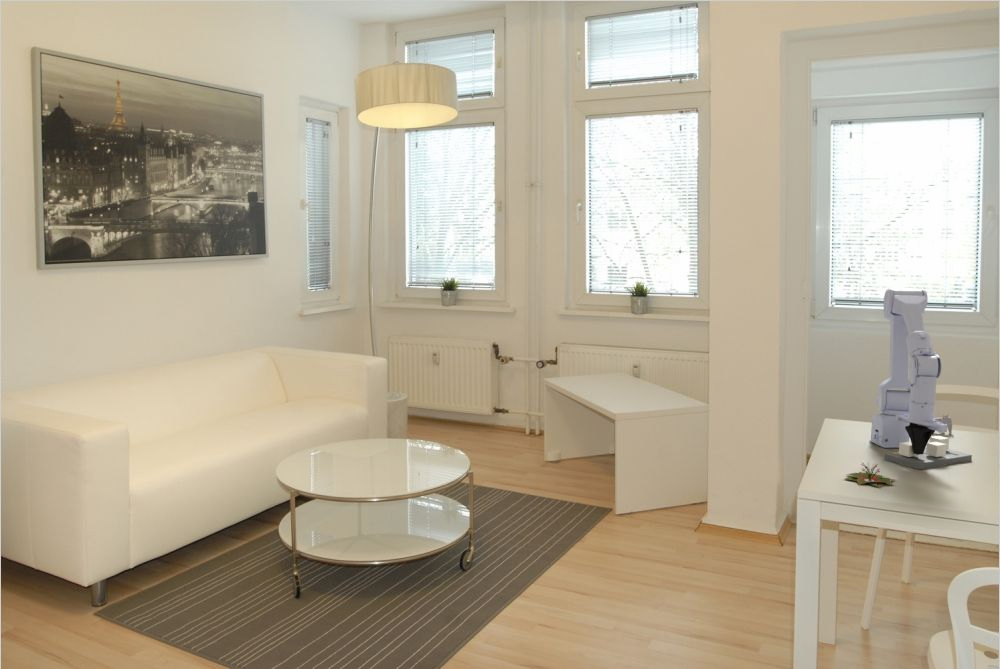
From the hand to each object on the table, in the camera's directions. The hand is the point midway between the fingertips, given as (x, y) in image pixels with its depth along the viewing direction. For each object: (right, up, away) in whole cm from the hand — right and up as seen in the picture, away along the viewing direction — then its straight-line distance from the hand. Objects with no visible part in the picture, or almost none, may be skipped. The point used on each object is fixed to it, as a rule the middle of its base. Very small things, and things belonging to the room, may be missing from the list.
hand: (918, 453), depth 214 cm
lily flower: (-18, -5, -13) cm, 24 cm away
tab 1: (+10, 0, +9) cm, 14 cm away
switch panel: (+5, -2, +5) cm, 7 cm away
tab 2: (+6, -1, +3) cm, 7 cm away
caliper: (+17, +1, +37) cm, 41 cm away
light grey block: (-1, -1, +3) cm, 3 cm away
